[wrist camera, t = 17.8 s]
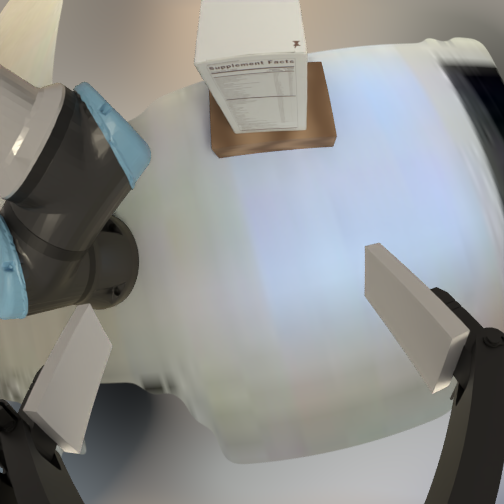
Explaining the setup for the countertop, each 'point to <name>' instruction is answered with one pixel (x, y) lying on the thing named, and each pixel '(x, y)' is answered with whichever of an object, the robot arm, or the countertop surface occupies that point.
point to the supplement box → (254, 62)
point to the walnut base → (314, 136)
